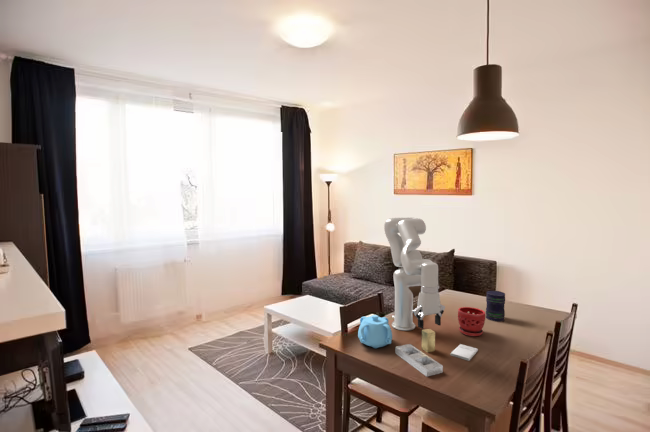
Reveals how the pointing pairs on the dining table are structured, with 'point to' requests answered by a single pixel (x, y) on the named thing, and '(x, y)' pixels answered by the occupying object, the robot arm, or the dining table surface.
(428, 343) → the gold rectangular block
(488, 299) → the storage jar
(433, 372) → the grey slotted plate
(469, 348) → the external hard drive
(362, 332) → the decorative pot
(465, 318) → the plant pot
